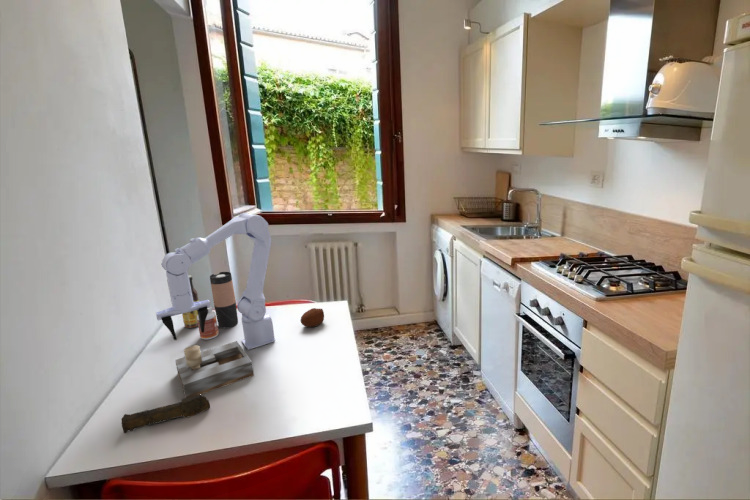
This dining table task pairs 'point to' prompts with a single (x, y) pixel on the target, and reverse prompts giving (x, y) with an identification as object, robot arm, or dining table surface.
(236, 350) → the keyhole plate
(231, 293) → the travel mug
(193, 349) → the keyhole peg
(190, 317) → the sauce bottle
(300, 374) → the dining table surface
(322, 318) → the potato
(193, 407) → the hand tool
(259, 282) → the robot arm
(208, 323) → the pill bottle
